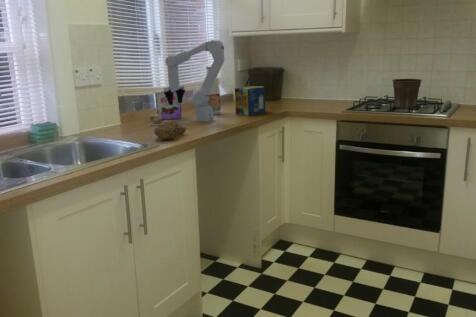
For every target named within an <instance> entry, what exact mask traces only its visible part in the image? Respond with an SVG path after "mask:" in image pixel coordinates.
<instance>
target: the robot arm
mask: <svg viewBox="0 0 476 317" xmlns="http://www.w3.org/2000/svg"><path fill="white" fill-rule="evenodd" d="M201 52H209V54H210V55H211V56H212V60H213V62H212V64H211V66H210V67H211V68H210V70H209V72H208V74H207V73H206V74H207V76H206V75H205V77H206V78H205V77H204V79H205V80H204V79H203V83H202V84H201V87H200V88H199V89H198V91H197V92H196V93H195V94H194V95H193V96H192V101H193V104H194V113H195V114H194V115H195V122H205V123H206V122H211V121H214V115H213V108H212V107H211V106H209V105H208V103H207V102H208V100H209V94H210V90H211V88H212V85H213V83H214V81H215V79H216V77H217V78H218V75H219V73H220V71H221V68H222V66H223V65H224V64H225V46H224V44H223V42H222V41H220V40H218V39H212V40H208V41H205V42H203V43H200V44H198V45H197V46H195V47H192V48H191V49H189V50H187V49H183V48H182V49H180V51H178V52H176V53H174V52H173V54H172V55H168V56H166V58H165V65H166V66H167V80H168V86H167V87H163V91H164V94H165V96H166V97H167V100H168V103H169V105H173V94H174V92H171V91H174V90H175V91H176V94H177V99H178V103H181V104H182V103H183V99H184V95H185V92H186V89H185V85H180V77H179V76H180V75H179V65H181V64H183V63H185V62H187V61H190V60H191V58H192V56H195V55H197V54H199V53H201Z"/></svg>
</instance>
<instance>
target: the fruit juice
mask: <svg viewBox="0 0 476 317" xmlns="http://www.w3.org/2000/svg"><path fill="white" fill-rule="evenodd" d="M210 68H211V66H206V68H205V69H206V75H205V77H204V79H203V81H204V80H205V78H206V76H207V74H208V72H209V70H210ZM219 85H220V81H219V78H218V76H217V77H216V79H215V81H214V83H213V85H212V88H211V90H210V94H209V100H208V102H207V103H208V105H209V106H211V107H212V108H213V116H215V115H219V114H221V92H220V91H221V90H220V88H219Z"/></svg>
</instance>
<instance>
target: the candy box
mask: <svg viewBox="0 0 476 317" xmlns="http://www.w3.org/2000/svg"><path fill="white" fill-rule="evenodd" d="M171 92H174V94H173V105H169V103H168V100H167V97H166V96H165V94H164V90H154V99H155V100H154V101H155V110H156V111H155V112H156V114H158V115H162V120H172V119H182V116H183V115H182V103H178V99H177V94H176V91H175V90H174V91H171Z"/></svg>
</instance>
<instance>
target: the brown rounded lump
mask: <svg viewBox="0 0 476 317" xmlns="http://www.w3.org/2000/svg"><path fill="white" fill-rule="evenodd" d="M186 130H187V126H186V125H185V123H184V124H181V123H178V122H175V121H172V122H168V123H165V124H163V125H161V126H159V127H158V126H156V127H155V128H154V131H153V133H154V135H155V136H156V137H157V138H158V139H161V140H164V141H165V140H172V139H174V138H175V137H177V136H178V135H181V134H184V133H186Z"/></svg>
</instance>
